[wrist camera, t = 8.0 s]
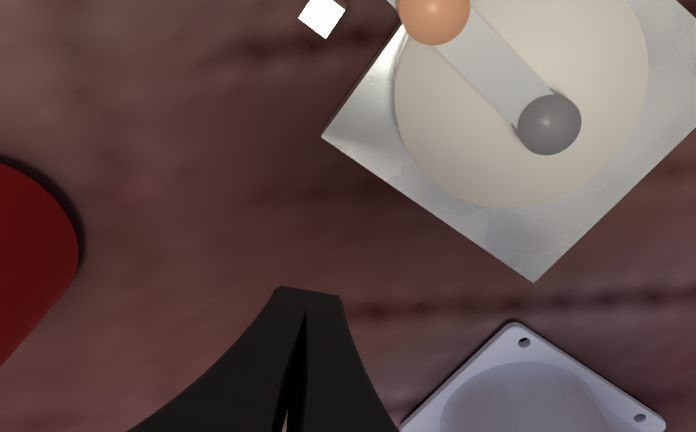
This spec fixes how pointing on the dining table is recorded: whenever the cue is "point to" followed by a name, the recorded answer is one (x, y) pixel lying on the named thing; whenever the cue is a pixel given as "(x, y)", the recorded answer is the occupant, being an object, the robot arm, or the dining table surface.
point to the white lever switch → (517, 93)
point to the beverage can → (30, 256)
